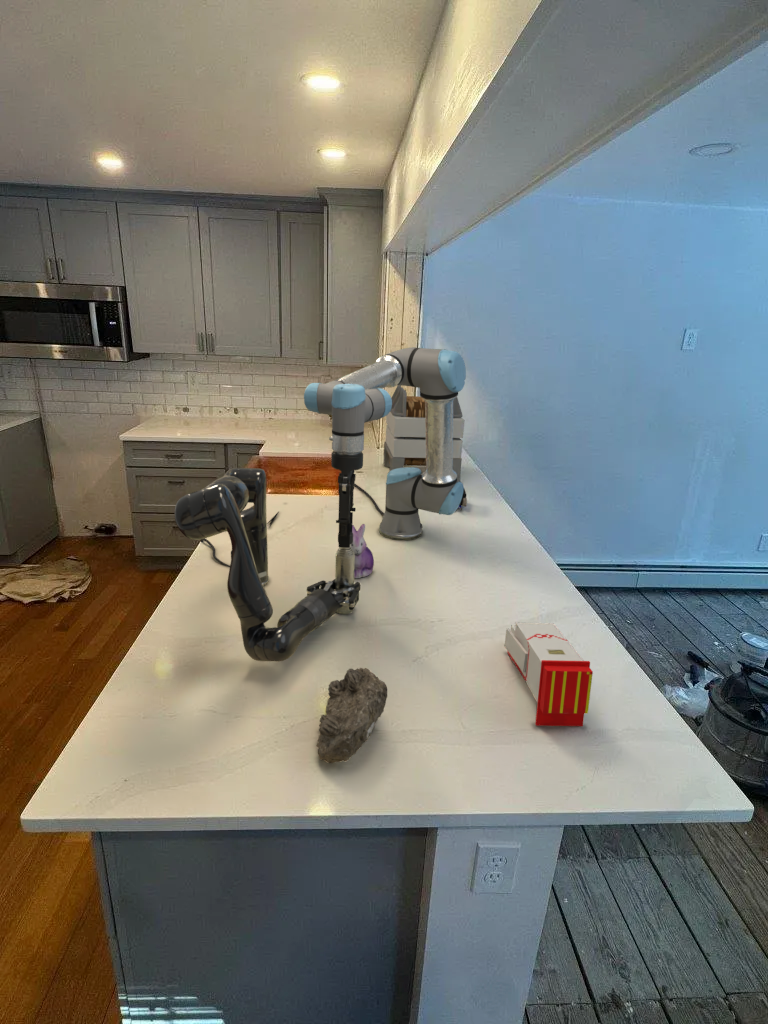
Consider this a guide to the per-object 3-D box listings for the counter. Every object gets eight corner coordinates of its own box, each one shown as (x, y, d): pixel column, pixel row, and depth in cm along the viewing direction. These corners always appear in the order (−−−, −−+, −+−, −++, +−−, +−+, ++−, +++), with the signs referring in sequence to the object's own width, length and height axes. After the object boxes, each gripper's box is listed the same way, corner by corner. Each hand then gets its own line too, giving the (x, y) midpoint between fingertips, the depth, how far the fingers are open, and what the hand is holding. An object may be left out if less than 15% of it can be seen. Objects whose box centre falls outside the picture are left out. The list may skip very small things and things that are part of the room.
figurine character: (467, 515, 225) (461, 499, 238) (469, 498, 221) (463, 482, 235) (450, 514, 224) (445, 498, 238) (452, 497, 221) (447, 482, 234)
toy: (550, 607, 134) (601, 667, 105) (545, 659, 137) (594, 732, 108) (499, 606, 134) (537, 666, 104) (495, 659, 137) (530, 731, 107)
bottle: (344, 603, 152) (346, 531, 145) (356, 610, 148) (359, 536, 141) (331, 609, 148) (331, 536, 141) (343, 616, 145) (344, 541, 138)
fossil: (321, 669, 117) (379, 637, 112) (350, 699, 119) (408, 669, 114) (296, 756, 97) (365, 723, 92) (332, 790, 100) (400, 759, 95)
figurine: (352, 582, 163) (353, 533, 158) (338, 567, 172) (338, 521, 166) (381, 576, 167) (383, 529, 162) (366, 562, 176) (367, 517, 171)
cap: (342, 538, 144) (342, 529, 143) (355, 540, 143) (355, 532, 142) (335, 543, 141) (335, 534, 140) (348, 546, 140) (349, 537, 139)
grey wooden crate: (382, 463, 289) (386, 382, 275) (445, 464, 293) (451, 384, 279) (390, 482, 257) (394, 392, 243) (460, 483, 261) (468, 394, 247)
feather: (286, 506, 225) (288, 502, 225) (268, 529, 199) (271, 525, 198) (282, 503, 225) (284, 499, 225) (264, 526, 199) (267, 522, 198)
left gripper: (339, 604, 130) (374, 576, 144) (288, 589, 136) (326, 563, 150) (339, 632, 132) (373, 602, 147) (288, 616, 138) (326, 588, 153)
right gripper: (336, 441, 143) (334, 526, 151) (326, 460, 125) (325, 556, 133) (365, 443, 143) (363, 528, 151) (360, 462, 125) (357, 557, 133)
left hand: (349, 582), depth 148 cm, fingers closed on bottle, 5 cm apart
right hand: (345, 541), depth 142 cm, fingers open, 6 cm apart
